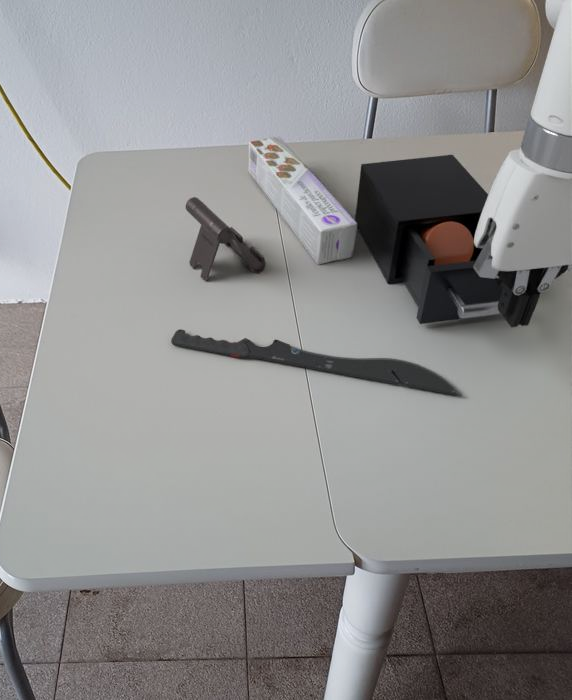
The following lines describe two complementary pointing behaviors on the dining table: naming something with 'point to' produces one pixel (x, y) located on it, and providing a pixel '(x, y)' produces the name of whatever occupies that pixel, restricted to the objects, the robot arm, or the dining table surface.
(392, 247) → the cabinet
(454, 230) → the orange cylinder puck
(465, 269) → the drawer
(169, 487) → the dining table surface
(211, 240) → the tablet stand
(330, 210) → the box
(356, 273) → the dining table surface
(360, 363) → the knife
